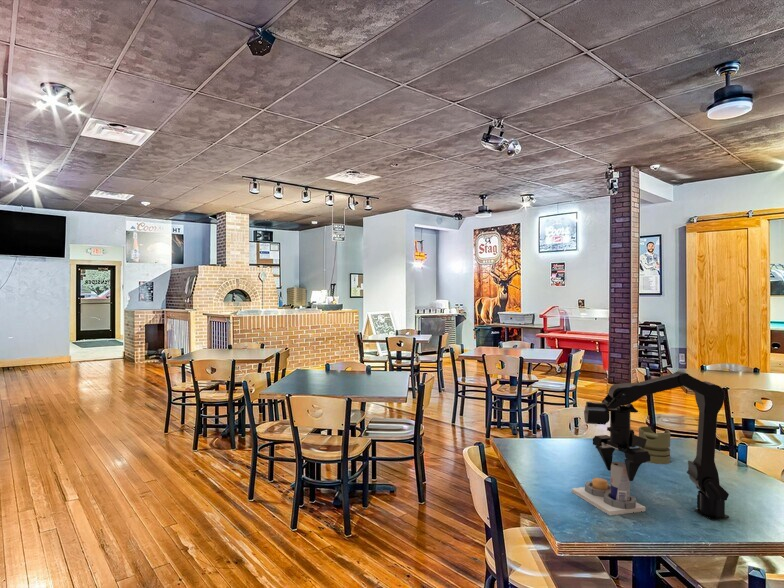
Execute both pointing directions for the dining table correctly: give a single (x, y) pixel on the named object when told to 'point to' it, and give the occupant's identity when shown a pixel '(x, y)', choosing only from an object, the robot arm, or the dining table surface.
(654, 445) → the piston
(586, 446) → the dining table surface
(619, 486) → the energy drink
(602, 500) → the housing
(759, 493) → the dining table surface
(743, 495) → the dining table surface
